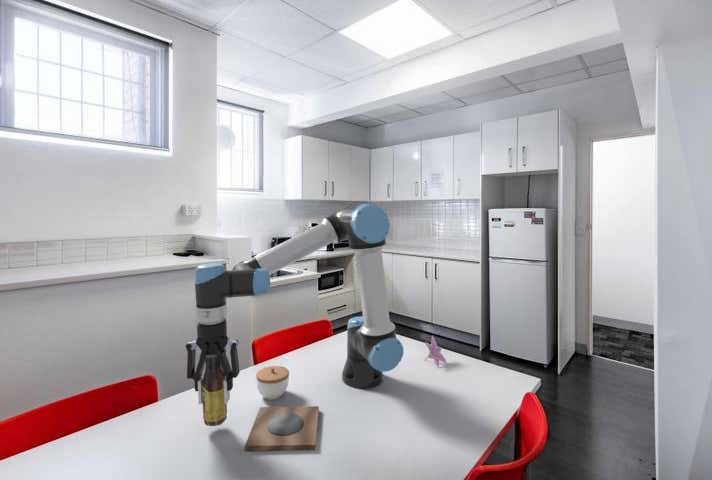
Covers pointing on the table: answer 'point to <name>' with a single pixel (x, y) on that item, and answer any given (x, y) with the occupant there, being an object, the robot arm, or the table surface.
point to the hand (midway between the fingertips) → (214, 401)
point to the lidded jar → (272, 381)
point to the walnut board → (284, 429)
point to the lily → (435, 352)
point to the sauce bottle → (213, 392)
